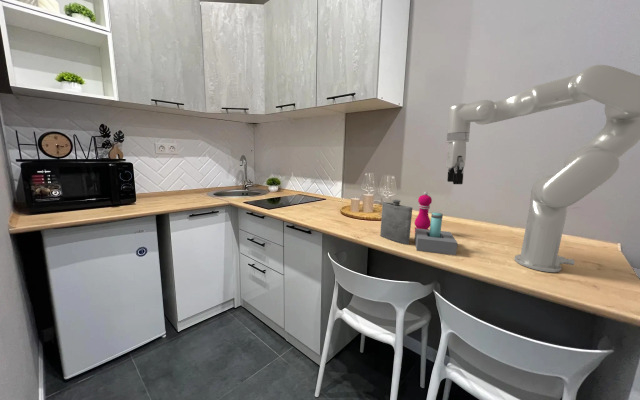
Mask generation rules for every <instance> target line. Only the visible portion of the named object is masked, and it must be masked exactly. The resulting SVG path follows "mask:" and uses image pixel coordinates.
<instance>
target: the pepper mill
mask: <svg viewBox="0 0 640 400" xmlns="http://www.w3.org/2000/svg"><path fill="white" fill-rule="evenodd" d="M417 199H418V201H417V202H418V208H419V209H418V214H417V216H416V218H415V220H414V226H415V228H417V229H426V230H430V225H431V218H430V215H429V209H430V208H431V204H432V202H433V200H432V197H431V195H428V191H424V192H423V195H422V194H421V195H420V196H419V197H418V198H417Z"/></svg>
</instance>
